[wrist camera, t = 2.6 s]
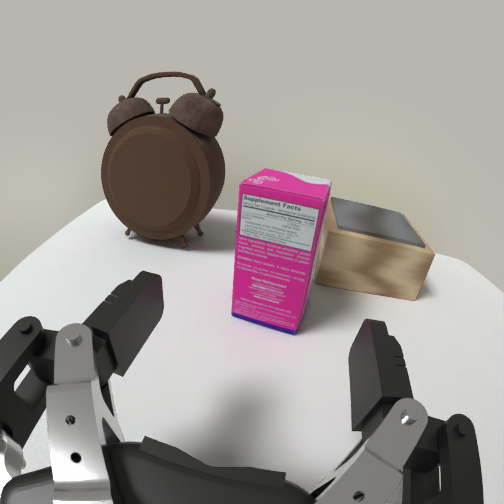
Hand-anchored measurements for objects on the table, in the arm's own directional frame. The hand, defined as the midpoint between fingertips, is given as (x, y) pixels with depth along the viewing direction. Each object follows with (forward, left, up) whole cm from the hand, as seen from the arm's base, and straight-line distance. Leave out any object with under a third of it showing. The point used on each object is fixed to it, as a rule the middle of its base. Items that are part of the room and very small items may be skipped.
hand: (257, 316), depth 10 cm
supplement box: (0, -12, -9) cm, 15 cm away
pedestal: (-10, -23, -9) cm, 26 cm away
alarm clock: (+15, -21, -9) cm, 27 cm away
